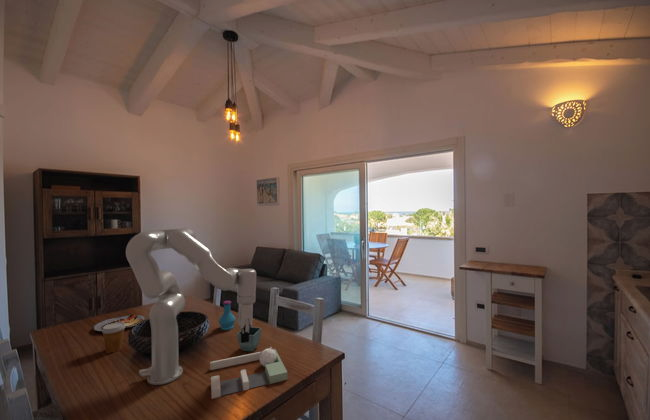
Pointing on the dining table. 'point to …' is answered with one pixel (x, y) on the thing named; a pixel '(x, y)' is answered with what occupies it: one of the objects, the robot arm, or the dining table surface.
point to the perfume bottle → (227, 317)
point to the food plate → (128, 321)
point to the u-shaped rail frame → (245, 382)
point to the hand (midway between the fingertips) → (244, 341)
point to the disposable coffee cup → (113, 336)
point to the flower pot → (250, 339)
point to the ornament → (267, 356)
